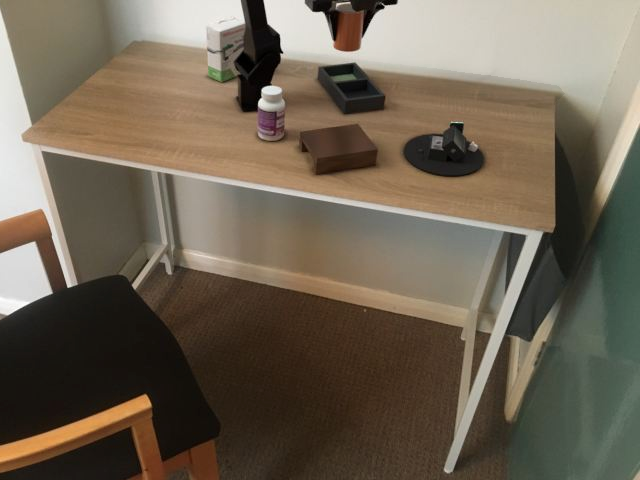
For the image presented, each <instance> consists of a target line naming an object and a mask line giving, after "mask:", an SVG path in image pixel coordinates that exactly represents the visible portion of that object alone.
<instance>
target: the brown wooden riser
mask: <svg viewBox="0 0 640 480" xmlns="http://www.w3.org/2000/svg"><path fill="white" fill-rule="evenodd" d="M298 142H299V143H298V148H299V149H300V151H301V152H307V151H308V153H309V154H310V156H311V157H312V159H313V164H312V171H313V173H314V175H321V174H326V173H328V174H329V173H334V172H340V171H347V170H353V169H360V168H367V167H373V166H376V165H377V160H378V159H377V158H378V153H379V148H378V147H377V146H376V144H375V143H374V142H373V141H372V139H371V138H370V137H369V136H368V134H367V133H366V132H365V131H364V129H363V128H362V127H361V125H360V124H359V123H353V124H351V123H350V124H346V125H339V126H338V125H337V126H330V127H323V128H315V129H308V130H302V131H299V141H298Z"/></svg>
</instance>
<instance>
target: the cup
mask: <svg viewBox="0 0 640 480" xmlns="http://www.w3.org/2000/svg"><path fill="white" fill-rule="evenodd" d="M336 9H337V10H338V11H339V14H338V16H337V34H336V40H335V41H333V40H332V41H333V43H332V47H333V49H334V50H337V51H340V52H346V53H352V52H358V51H359V50H360V49H361V47H362V40H363V38H362V32H363V24H364V15H365V10H363V11H361V12H356V11H354V10H353V9H352V5H351V3H350V2H345V3H340V4H338V5H336Z"/></svg>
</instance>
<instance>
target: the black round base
mask: <svg viewBox="0 0 640 480" xmlns="http://www.w3.org/2000/svg"><path fill="white" fill-rule="evenodd" d="M464 129H465V123H464V122H462V121H451V122H450V123H449V128H447V129H445V130H444V131H443V132H442V133H427V134H420V135H417V136H415V137H413V138H411V139H409V140H408V141H407V142H406V143H405V145H404V147H403V156H404V158H405V160H406V161H407V162H408V163H409V164H410V165H411V166H412V167H414V168H415V169H418V170H420V171H422V172H424V173H427V174H429V175H434V176H440V177H448V178H451V177H452V178H455V177H456V178H457V177H464V176H468V175H471V174H473V173H475V172H477V171H478V170H480V169H481V167H482V166H483V163H484V155H483V152H482V151H481V149H480V148H479V145H478V144H477V143H475V141H472V142H470V141H469V140H467V137H466V135H464Z"/></svg>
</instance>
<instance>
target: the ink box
mask: <svg viewBox="0 0 640 480" xmlns="http://www.w3.org/2000/svg"><path fill="white" fill-rule="evenodd" d="M244 32H245V20H243V19H240V18H238V17H236V16H229V17H226V18H223V19H220V20H216V21H214V22H211V23H207V25H206V26H205V33H206V53H207V72H208V73H207V75H208V77H209V78H211V79H214V80H216V81H218V82H220V83H223V82H226V81H229V80H231V79H233V78H236V77H238V76H237V75H239V74H240V73H239V72H238V71H237V70H236V68H235V66H234V63H233V62H234V60H235V59H236V58H237V57H238V56H239V54H240V53H241V52H242V51H243V49H244V45H243V37H244Z"/></svg>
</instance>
